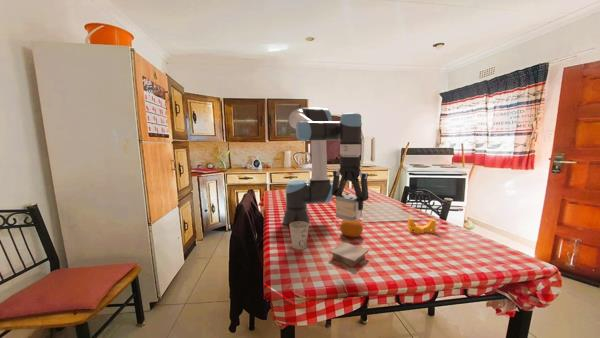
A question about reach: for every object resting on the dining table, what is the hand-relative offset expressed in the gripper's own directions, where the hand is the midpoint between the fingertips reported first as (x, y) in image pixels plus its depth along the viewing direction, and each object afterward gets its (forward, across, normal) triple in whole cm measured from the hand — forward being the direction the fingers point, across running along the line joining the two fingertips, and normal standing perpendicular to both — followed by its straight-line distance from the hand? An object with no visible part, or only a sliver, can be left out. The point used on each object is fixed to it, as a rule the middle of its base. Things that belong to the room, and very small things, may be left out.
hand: (348, 215), depth 86 cm
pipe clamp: (+17, +14, +48) cm, 53 cm away
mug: (+17, -23, -5) cm, 29 cm away
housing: (0, 0, 0) cm, 0 cm away
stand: (+17, 0, 0) cm, 17 cm away
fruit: (+17, -10, +20) cm, 28 cm away
